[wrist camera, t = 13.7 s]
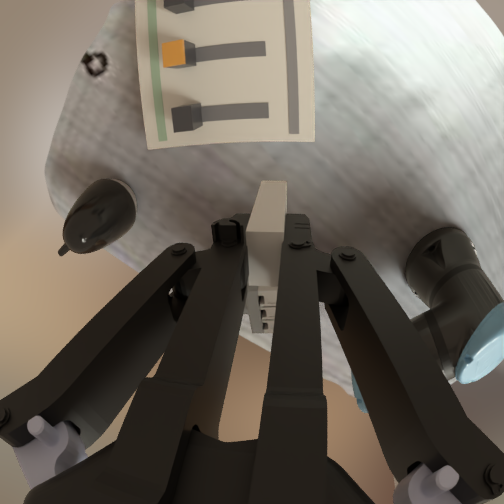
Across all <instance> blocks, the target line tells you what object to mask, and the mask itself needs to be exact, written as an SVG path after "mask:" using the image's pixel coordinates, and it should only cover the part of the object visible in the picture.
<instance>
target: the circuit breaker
mask: <svg viewBox="0 0 504 504" xmlns="http://www.w3.org/2000/svg"><path fill="white" fill-rule="evenodd" d="M277 290H278V287H272V286H249V278H248V282H247V291H248V293H247V298H246V303H245V307H244V312H243V314H249V319H250V324H251V329H252V333H273V329H274V320H275V310H276V300H277Z"/></svg>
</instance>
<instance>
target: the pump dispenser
mask: <svg viewBox="0 0 504 504" xmlns="http://www.w3.org/2000/svg"><path fill="white" fill-rule="evenodd" d="M136 213H137V201H136V197H135V195H134V193H133V191H132V190H131V188H130V187H129V186H128V185H127V184H125V183H124V182H122V181H120V180H116V179H100V180H97V181H96V182H94V183H93V184H91V185H90V186H89V187H88V188H87V189H86V190H85V191H84V192H83V193H82V194H81V195H80V197H79V198H78V199H77V201H76V202H75V203H74V205H73V207H72V208H71V210H70V212H69V213H68V215H67V218H66V220H65V223H64V227H63V240H64V242H65V244H64V245H63V246H62V247H61V248H60V249H59V251H58V254H59V255H60V256H63V255H64V254H66V253H67V252H68V251H69V250H71V251H73V252H75V253H78V254H86V253H91V252H94V251H97V250H100V249H102V248H104V247H106V246H108V245H110V244H111V243H113V242H115V241H116V240H118V239H119V238H121V237H122V236H123V235H125V234H126V233H127V232H128V231H129V230H130V229H131V228H132V226H133V224H134V222H135V219H136Z"/></svg>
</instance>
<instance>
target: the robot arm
mask: <svg viewBox="0 0 504 504" xmlns="http://www.w3.org/2000/svg"><path fill="white" fill-rule="evenodd" d="M211 227H212V235H213V245H212V247H211V249H208V250H204V251H197V252H195V248H194V246H193V245H191V244H188V243H177V244H174V245H172V246H170V247H168V248H167V249H166V250H164V251H163V252H162V253H161V254H160V255H159V256H158V257H157V258H155V259H154V260H153V261H152V262H151V263H150V264H149V265H148V266H147V267H146V268H145V269H143V270H142V271H141V272H140V273H139V274H138V275H137V276H136V277H135V278H134V279H133V280H132V281H131V282H129V283H128V284H127V285H126V286H125V287H124V288H123V289H122V290H121V291H120V292H119V293H118V294H117V295H116V296H115V297H114V298H113V299H112V300H111V301H109V303H107V304H106V305H105V307H103V308H102V309H101V310H100V311H99V312H98V313H97V314H96V315H95V316H94V317H93V318H92V319H91V320H90V321H89V322H88V323H87V324H86V325H85V326H84V327H83V328H82V329H81V330H80V331H79V332H78V334H77V335H75V336H74V338H73V339H72V340H71V341H70V342H69V343H68V344H67V345H66V346H65V347H64V348H63V349H62V350H61V351H60V352H59V353H58V354H57V355H56V356H55V358H54V359H53V360H52V361H51V362H50V363H49V364H48V365H47V366H46V367H45V368H44V370H43V371H42V372H41V373H40V374H39V375H38V376H37V377H36V378H34V379H32V380H31V381H29V382H28V383H26V384H25V385H23V386H22V387H20V388H19V389H17V390H15V391H14V392H12V393H11V394H9V395H8V396H6V397H5V398H3V399H1V400H0V438H2V439H3V440H4V441H5V442H7V443H8V444H10V445H11V446H12V447H13V449H14V452H15V454H16V457H17V459H18V462H19V464H20V467H21V469H22V471H23V474H24V476H25V478H26V480H27V483H28V485H29V487H30V489H31V491H30V492H29V493H28V494H27V496H26V498H25V500H24V503H23V504H375V503H374V502H373V501H372V500H371V499H370V498H369V497H368V496H367V494H366V493H365V492H364V491H363V490H362V489H361V488H360V487H359V486H358V485H357V484H356V482H355V481H354V480H353V479H352V478H351V477H350V476H349V475H348V473H347V472H346V471H345V470H344V469H343V468H342V467H341V466H340V465H339V464H338V463H336V462H335V461H334V460H332V459H330V458H329V457H328V456H327V400H326V396H325V395H323V377H322V349H321V328H320V312H319V301H320V302H324V303H325V309H326V311H327V314H328V316H329V318H330V320H331V323H332V325H333V327H334V330H335V332H336V334H337V337H338V339H339V341H340V344H341V346H342V349H343V351H344V353H345V356H346V358H347V361H348V363H349V365H350V368H351V376H352V385H353V391H354V396H355V398H357V404H358V407H359V408H360V410H362V412H364V413H369V416H370V419H371V421H372V424H373V427H374V429H375V432H376V435H377V438H378V440H379V443H380V446H381V448H382V451H383V454H384V457H385V459H386V461H387V464H388V466H389V468H390V470H391V472H392V474H393V475H394V481H395V490H394V494H393V503H394V504H483V503H486V502H488V501H490V500H492V499H494V498H496V497H498V496H500V495H501V494H502V493H503V492H504V453H503V452H502V451H501V450H500V449H499V448H498V447H497V446H496V445H495V444H494V443H493V442H492V441H491V440H490V439H489V438H488V437H487V436H486V435H485V434H484V433H483V432H482V431H481V430H480V429H479V428H478V427H477V426H476V425H475V424H474V423H473V422H472V421H471V420H470V419H469V418H468V417H467V416H466V414H465V412H464V410H463V408H462V406H461V404H460V402H459V400H458V398H457V397H456V395H455V393H454V391H453V389H452V388H451V386H450V384H449V382H448V380H450V379H452V378H454V377H456V379H457V380H458V381H459V382H460V383H462V384H467V383H470V382H475V381H477V380H479V379H480V378H482V377H484V376H485V375H486V374H488V373H489V372H490V371H492V370H493V369H494V368H495V367H496V366H497V365H498V364H499V363H500V362H501V361H502V360H503V359H504V300H503V299H502V297H501V296H500V294H499V293H498V291H497V290H496V288H495V287H494V285H493V284H492V282H491V281H490V280H489V278H488V277H487V276H486V274H485V273H484V271H483V270H482V269H481V266H480V263H479V260H478V258H477V254H476V249H475V246H474V244H473V242H472V241H471V240H470V238H469V237H468V236H467V235H466V234H465V233H464V232H463V231H461V230H459V229H457V228H451V227H448V228H441V229H438V230H436V231H433V232H431V233H430V234H428V235H427V236H425V237H424V238H423V239H422V240H421V241H420V242H419V243H418V244H417V245H416V246H415V247H414V249H413V250H412V252H411V254H410V256H409V258H408V261H407V264H406V279H407V282H408V284H409V286H410V288H411V290H412V292H413V293H414V294H415V295H416V296H417V297H418V298H419V299H421V300H422V301H423V302H424V303H425V304H426V305H427V306H428V307H429V308H430V310H428V311H426V312H424V313H422V314H420V315H418V316H416V317H414V318H412V319H409V318H408V316H407V315H406V313H405V312H404V310H403V309H402V307H401V306H400V304H399V303H398V302H397V300H396V299H395V297H394V296H393V294H392V293H391V292H390V290H389V289H388V287H387V286H386V285H385V283H384V282H383V280H382V279H381V278H380V276H379V275H378V274H377V272H376V271H375V270H374V268H373V267H372V265H371V264H370V263H369V261H368V260H367V259H366V258H365V256H364V255H363V254H362V253H361V252H360V251H359V250H357V249H355V248H352V247H338V248H336V249H334V250H333V251H332V253H331V254H326V253H323V252H320V251H318V250H317V249H315V248H314V244H313V242H312V240H311V230H310V221H309V218H308V217H307V216H306V215H305V214H287V181H261V185H260V188H259V191H258V194H257V197H256V200H255V203H254V206H253V210H252V213H251V214H236V215H234V216H233V217H232V218H227V219H221V220H218V221H216V222H214V223H213V224H212V225H211ZM248 278H249V286H272V287H278V290H277V300H276V310H275V320H274V329H273V338H272V347H271V356H270V366H269V373H268V381H267V389H266V393H265V395H264V401H263V407H262V414H261V422H260V429H259V436H258V439H254V440H246V441H238V442H223V441H220V440H218V428H219V422H220V417H221V413H222V408H223V404H224V399H225V395H226V390H227V386H228V381H229V376H230V372H231V367H232V362H233V358H234V353H235V348H236V344H237V340H238V335H239V330H240V326H241V321H242V317H243V312H244V307H245V303H246V298H247V293H248V291H247V282H248ZM171 288H172V290H173V292H172V293H171V294H170V295H169V291H170V290H171ZM163 353H164V355H163ZM162 355H163V357H162V360H161V362H160V364H159V367H158V369H157V372H156V374H155V375H154V377H152V378H148V377H146V376H147V375H148V373H149V372H150V371H151V369H152V368H153V367H154V365H155V364H156V363H157V361H158V360H159V358H160V357H161V356H162ZM145 377H146V378H145ZM136 389H137V391H136ZM135 391H136V393H135V396H134V398H133V400H132V403H131V405H130V407H129V410H128V412H127V415H126V417H125V419H124V422H123V424H122V427H121V429H120V432H119V434H118V437H117V440H116V441H114V442H112V443H111V444H109V445H108V446H106V447H104V448H103V449H101V450H100V451H98V452H96V453H94V454H93V455H91V456H90V457H88V456H87V454H86V453H85V450H86V449H87V448H88V447H90V446H91V445H92V444H93V443H94V442H95V441H96V440H97V439H98V438H99V437H101V435H102V434H103V433H104V432H105V431H106V429H107V428H108V427H109V426H110V424H111V423H112V422H113V420H114V419H115V418H116V416H117V415H118V413H119V412H120V411H121V410H122V408H123V407H124V405H125V404H126V403H127V401H128V400H129V399H130V397H131V396H132V395H133V393H134V392H135Z"/></svg>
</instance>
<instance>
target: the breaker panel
mask: <svg viewBox="0 0 504 504" xmlns="http://www.w3.org/2000/svg"><path fill="white" fill-rule="evenodd" d="M135 25H136V45H137V60H138V72H139V83H140V93H141V102H142V110H143V118H144V126H145V133H146V140H147V146H148V150H151V149H160V148H168V147H178V146H189V145H201V144H215V143H234V142H270V141H291V142H315V104H314V64H313V42H312V26H311V12H310V0H135ZM181 39H183V40H186V41H188V42H191V43H194V44H195V51H196V66H192V67H185V68H179V69H175V68H163V57H162V43H166V42H171V41H176V40H181Z"/></svg>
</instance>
